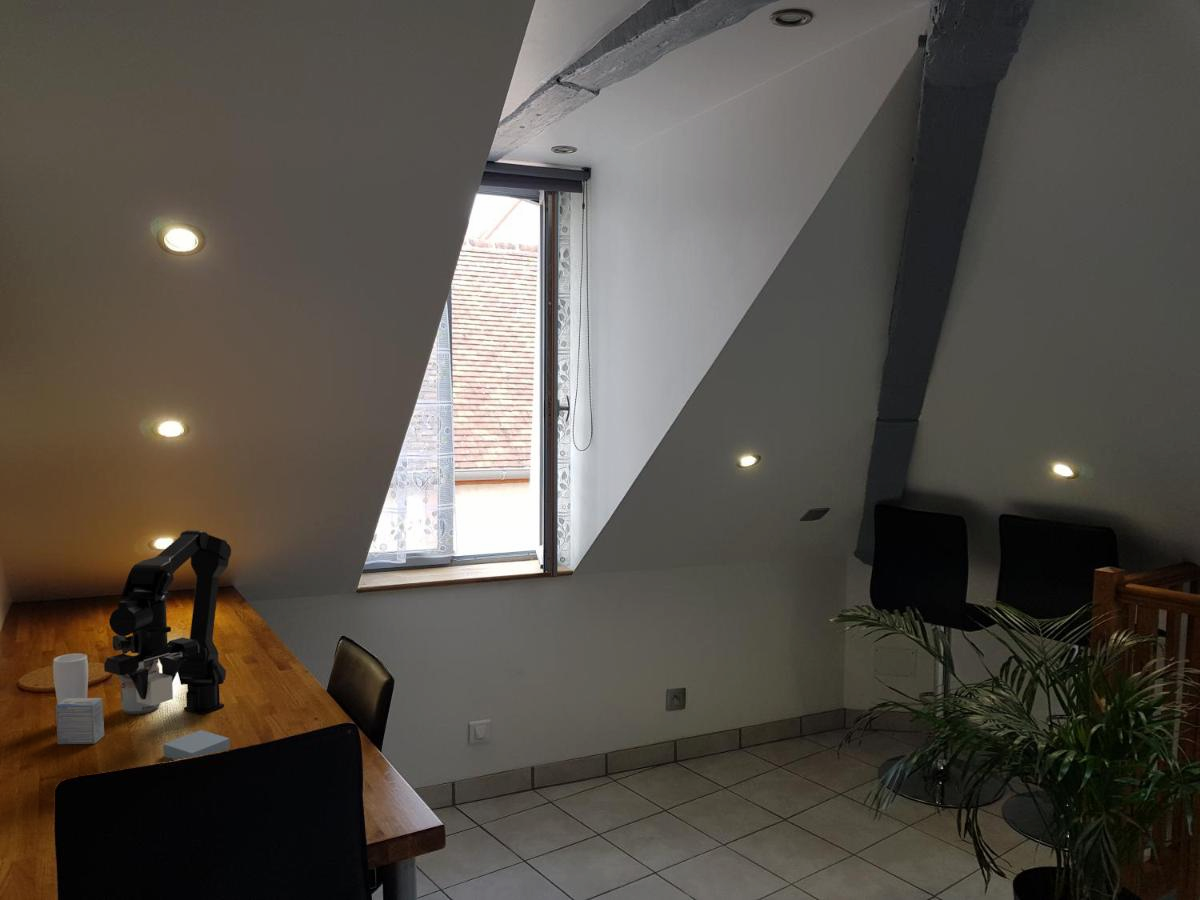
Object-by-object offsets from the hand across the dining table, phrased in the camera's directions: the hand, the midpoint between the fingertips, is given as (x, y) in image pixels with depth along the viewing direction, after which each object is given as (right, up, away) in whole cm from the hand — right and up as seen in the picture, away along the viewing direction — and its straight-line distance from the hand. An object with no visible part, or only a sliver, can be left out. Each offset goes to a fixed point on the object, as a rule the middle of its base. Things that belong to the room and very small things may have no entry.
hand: (154, 695), depth 207 cm
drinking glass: (-23, -9, +11) cm, 27 cm away
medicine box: (-16, -10, +1) cm, 19 cm away
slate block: (+11, -11, -5) cm, 17 cm away
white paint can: (-12, -8, +20) cm, 25 cm away
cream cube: (0, -1, 0) cm, 1 cm away
